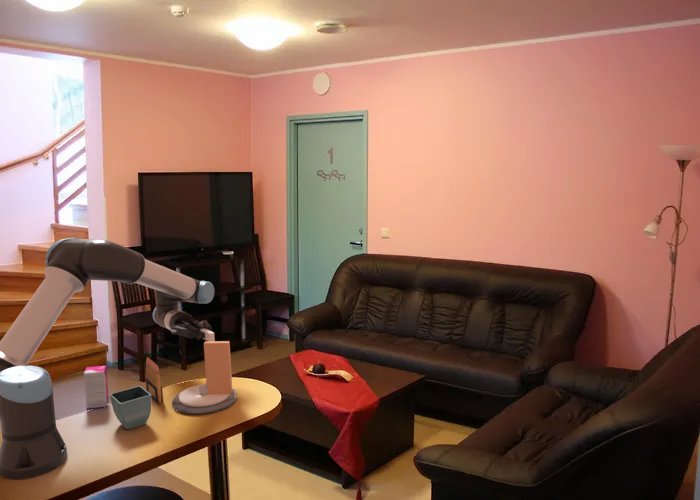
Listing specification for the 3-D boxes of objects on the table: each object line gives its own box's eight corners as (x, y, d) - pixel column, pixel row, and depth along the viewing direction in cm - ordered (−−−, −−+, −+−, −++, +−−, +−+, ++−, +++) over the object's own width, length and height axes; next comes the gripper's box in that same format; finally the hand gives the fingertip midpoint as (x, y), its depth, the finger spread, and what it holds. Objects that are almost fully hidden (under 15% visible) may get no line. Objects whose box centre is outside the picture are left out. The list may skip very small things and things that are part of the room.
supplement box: (107, 408, 178) (103, 371, 176) (86, 410, 176) (82, 373, 174) (109, 400, 183) (106, 364, 181) (89, 403, 182) (85, 367, 180)
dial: (172, 407, 174) (167, 351, 171) (187, 387, 188) (184, 335, 186) (226, 406, 173) (222, 350, 170) (237, 386, 188) (234, 334, 185)
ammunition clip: (163, 402, 181) (160, 364, 179) (157, 404, 180) (154, 366, 178) (152, 391, 189) (149, 355, 187) (146, 393, 188) (143, 356, 186)
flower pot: (122, 435, 160) (119, 403, 159) (111, 424, 167) (108, 393, 166) (154, 425, 166) (152, 394, 164) (142, 414, 173) (140, 385, 171)
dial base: (158, 407, 178) (157, 394, 177) (203, 384, 194) (203, 373, 193) (206, 420, 168) (205, 406, 167) (249, 395, 184) (249, 383, 184)
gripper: (198, 329, 207) (231, 344, 189) (161, 337, 199) (193, 353, 181) (197, 308, 206) (230, 321, 188) (160, 315, 198) (191, 329, 180)
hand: (212, 337), depth 184 cm, fingers closed
